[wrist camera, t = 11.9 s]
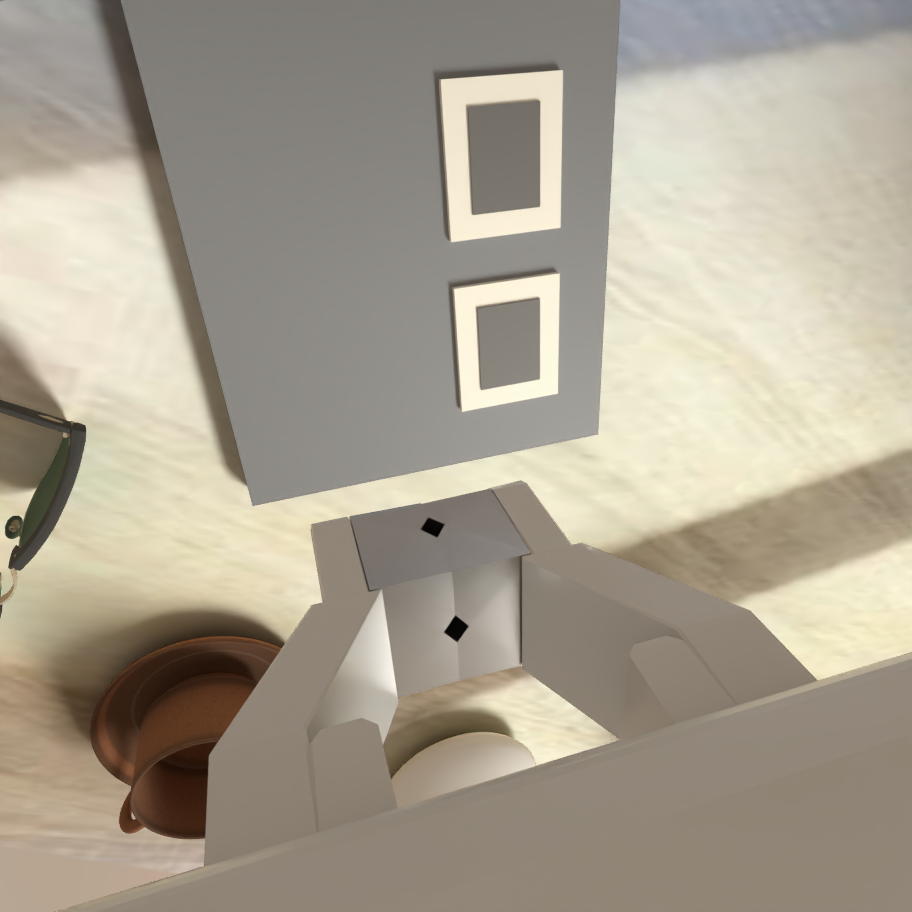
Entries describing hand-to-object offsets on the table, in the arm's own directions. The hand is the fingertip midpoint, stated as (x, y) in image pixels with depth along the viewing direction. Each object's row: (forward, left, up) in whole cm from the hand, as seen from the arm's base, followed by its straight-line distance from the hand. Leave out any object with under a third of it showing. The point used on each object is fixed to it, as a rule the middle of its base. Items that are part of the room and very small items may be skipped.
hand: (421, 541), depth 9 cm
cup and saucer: (+9, +25, -23) cm, 35 cm away
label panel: (-5, 0, -22) cm, 23 cm away
